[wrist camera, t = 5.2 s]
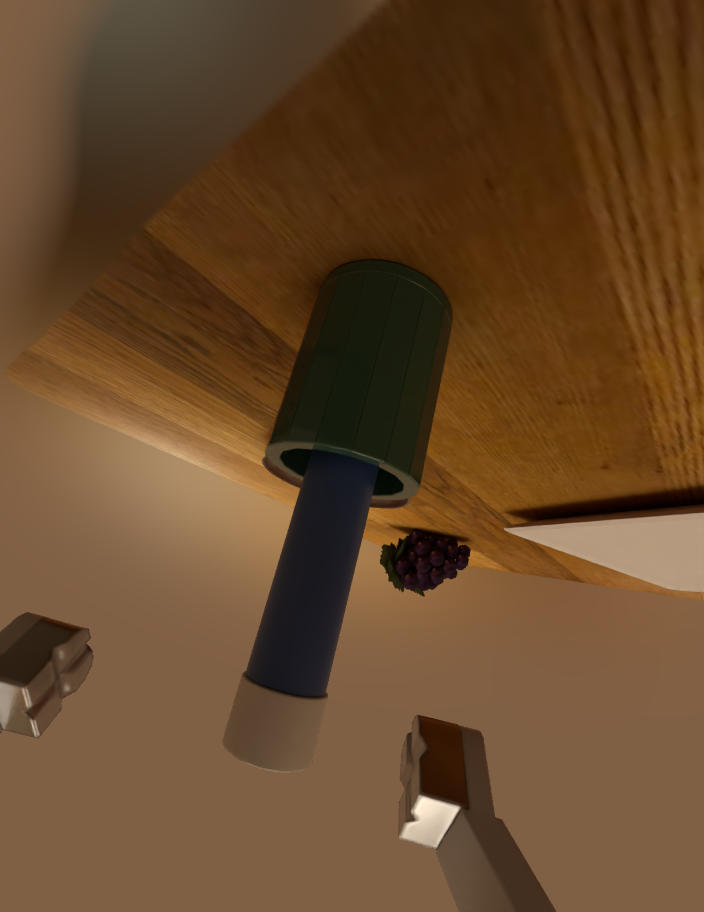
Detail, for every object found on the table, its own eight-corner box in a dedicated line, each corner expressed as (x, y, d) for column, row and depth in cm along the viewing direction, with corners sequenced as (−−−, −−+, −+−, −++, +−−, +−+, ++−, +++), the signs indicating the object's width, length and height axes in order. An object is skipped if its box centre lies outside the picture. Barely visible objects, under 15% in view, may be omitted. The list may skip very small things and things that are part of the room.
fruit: (474, 525, 67) (395, 539, 75) (446, 517, 59) (361, 533, 67) (485, 592, 63) (401, 598, 71) (457, 593, 55) (366, 600, 63)
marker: (347, 295, 18) (207, 751, 12) (416, 306, 17) (303, 783, 12) (351, 338, 20) (239, 723, 15) (411, 348, 20) (318, 749, 15)
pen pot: (309, 249, 16) (244, 428, 14) (465, 271, 16) (426, 467, 13) (327, 342, 22) (284, 480, 20) (441, 362, 21) (412, 509, 19)
